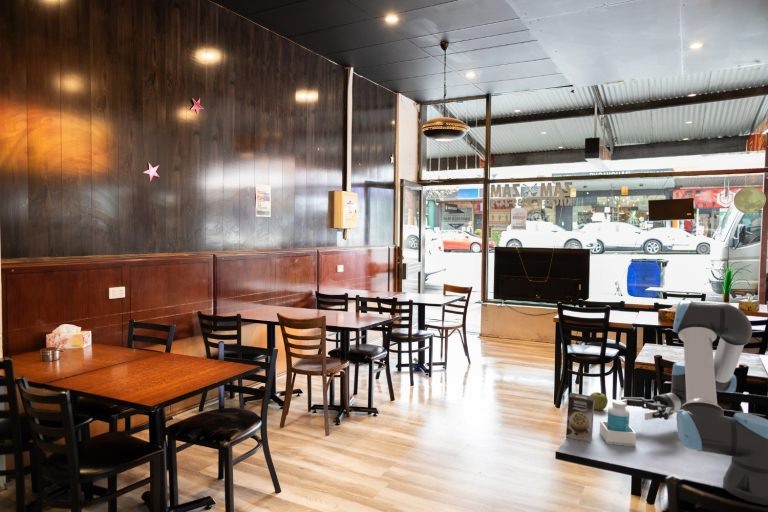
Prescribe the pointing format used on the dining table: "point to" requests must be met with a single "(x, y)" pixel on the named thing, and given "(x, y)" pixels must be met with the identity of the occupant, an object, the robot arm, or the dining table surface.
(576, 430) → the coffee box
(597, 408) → the apple
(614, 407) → the pill bottle
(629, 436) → the holder
